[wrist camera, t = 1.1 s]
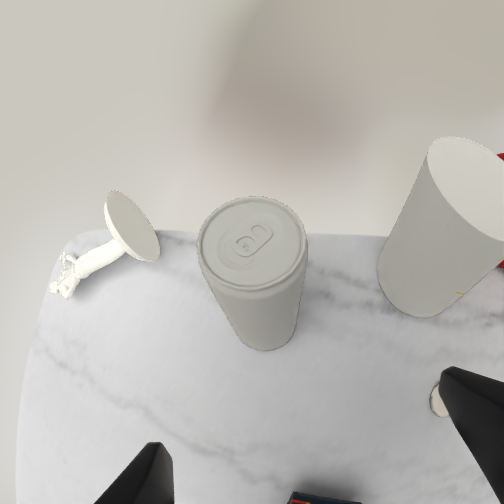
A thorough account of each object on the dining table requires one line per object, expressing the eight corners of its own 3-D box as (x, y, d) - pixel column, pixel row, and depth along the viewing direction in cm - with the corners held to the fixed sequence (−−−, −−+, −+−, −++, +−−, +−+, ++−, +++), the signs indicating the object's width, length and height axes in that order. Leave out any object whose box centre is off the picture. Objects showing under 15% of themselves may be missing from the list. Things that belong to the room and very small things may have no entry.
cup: (445, 331, 20) (537, 265, 10) (364, 295, 23) (419, 201, 12) (460, 255, 23) (524, 171, 13) (389, 222, 26) (431, 121, 16)
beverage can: (222, 323, 23) (171, 242, 13) (264, 282, 24) (250, 177, 14) (266, 365, 21) (250, 318, 11) (309, 320, 22) (333, 234, 12)
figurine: (100, 219, 19) (20, 296, 20) (161, 276, 23) (75, 335, 25) (112, 178, 24) (38, 248, 26) (159, 228, 29) (83, 286, 30)
